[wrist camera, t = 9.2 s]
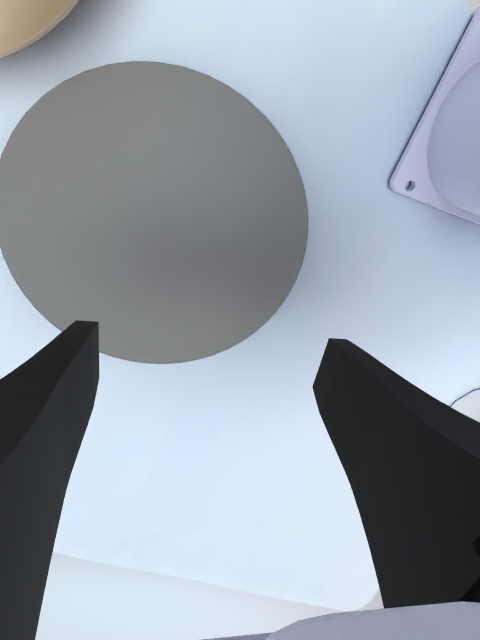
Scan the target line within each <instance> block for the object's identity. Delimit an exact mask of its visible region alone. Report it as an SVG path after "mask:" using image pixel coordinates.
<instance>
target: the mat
mask: <svg viewBox="0 0 480 640" xmlns="http://www.w3.org/2000/svg"><path fill="white" fill-rule="evenodd" d="M307 233H308V209H307V203H306V196H305V190H304V187H303V183H302V180H301V176H300V173H299V170H298V168H297V166H296V163H295V161H294V159H293V156H292V154H291V152H290V150H289V149H288V147H287V145H286V144H285V142H284V140H283V139H282V137H281V136H280V134H279V133H278V131H277V130H276V129H275V128H274V126H273V125H272V124H271V123H270V121H269V120H268V119H267V118H266V117H265V115H263V114H262V113H261V112H260V111H259V110H258V109H257V108H256V107H255V106H254V105H253V104H252V103H251V102H250V101H249V100H247V99H246V98H244V97H243V96H242V95H240V94H239V93H237V92H236V91H235V90H233V89H232V88H230V87H229V86H227V85H225V84H223V83H221V82H219V81H217V80H215V79H213V78H211V77H210V76H208V75H205V74H202V73H199V72H196V71H194V70H191V69H188V68H185V67H181V66H176V65H170V64H165V63H159V62H125V63H117V64H109V65H105V66H102V67H98V68H95V69H91V70H88V71H85V72H82V73H80V74H78V75H76V76H74V77H72V78H70V79H68V80H66V81H64V82H62V83H60V84H59V85H58V86H56V87H55V88H53V89H52V90H51V91H49V92H48V93H46V94H45V95H43V96H42V97H41V98H40V99H39V100H38V101H37V102H36V103H35V104H34V105H33V106H32V107H31V108H30V109H29V110H28V111H27V112H26V113H25V115H24V116H23V118H22V119H21V120H20V122H19V123H18V125H17V126H16V127H15V129H14V130H13V132H12V134H11V136H10V138H9V140H8V142H7V144H6V146H5V148H4V150H3V152H2V156H1V159H0V247H1V250H2V254H3V257H4V259H5V261H6V263H7V266H8V268H9V270H10V272H11V274H12V276H13V278H14V279H15V281H16V283H17V284H18V286H19V287H20V289H21V291H22V292H23V294H24V295H25V296H26V297H27V298H28V300H29V301H30V302H31V303H32V305H33V306H34V307H35V308H36V309H37V310H38V311H39V312H40V313H41V314H42V315H43V316H44V317H45V318H46V319H47V320H48V321H49V322H50V323H52V324H53V325H54V326H55V327H57V328H58V329H59V330H61V331H62V332H63V331H64V330H65V329H66V328H67V327H68V326H70V325H71V324H72V323H73V322H75V321H76V320H81V321H95V322H99V352H101V353H104V354H107V355H109V356H112V357H116V358H120V359H124V360H128V361H134V362H141V363H153V364H169V363H182V362H187V361H193V360H198V359H201V358H205V357H208V356H212V355H215V354H217V353H219V352H222V351H224V350H227V349H229V348H231V347H232V346H234V345H236V344H238V343H240V342H242V341H243V340H245V339H246V338H247V337H249V336H250V335H252V334H253V333H255V332H256V331H257V330H258V329H259V328H260V327H261V326H263V325H264V324H265V323H266V322H267V321H268V320H269V319H270V318H271V317H272V315H273V314H274V313H275V312H276V311H277V310H278V309H279V307H280V306H281V304H282V303H283V302H284V300H285V299H286V297H287V296H288V294H289V292H290V290H291V288H292V286H293V285H294V283H295V281H296V278H297V276H298V273H299V270H300V268H301V265H302V262H303V257H304V253H305V249H306V242H307Z"/></svg>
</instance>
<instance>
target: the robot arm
mask: <svg viewBox="0 0 480 640" xmlns="http://www.w3.org/2000/svg"><path fill="white" fill-rule="evenodd" d="M409 181H411V186H410V187H409V188H408V189H405V186H406V184H407V182H409ZM389 185H390V188H391V189H392V190H393V191H395V192H397V193H399V194H402V195H405V196H407V197H410V198H412V199H415V200H417V201H420V202H422V203H425V204H428V205H430V206H433V207H435V208H438V209H440V210H443V211H445V212H448V213H451V214H453V215H456V216H458V217H461V218H463V219H466V220H468V221H471V222H474V223H476V224H479V225H480V7H479V8H478V9H477V11H476V12H475V14H474V16H473V18H472V20H471V22H470V24H469V26H468V28H467V30H466V32H465V34H464V36H463V38H462V40H461V42H460V43H459V45H458V47H457V49H456V51H455V53H454V55H453V57H452V59H451V61H450V63H449V65H448V67H447V69H446V71H445V73H444V75H443V77H442V79H441V81H440V83H439V85H438V87H437V89H436V90H435V92H434V94H433V96H432V98H431V100H430V102H429V104H428V106H427V108H426V110H425V112H424V114H423V116H422V118H421V120H420V122H419V124H418V126H417V128H416V130H415V132H414V134H413V136H412V137H411V139H410V141H409V143H408V145H407V147H406V149H405V151H404V153H403V155H402V157H401V159H400V161H399V163H398V165H397V167H396V169H395V171H394V173H393V175H392V177H391V179H390V182H389ZM98 381H99V322H95V321H81V320H76V321H75V322H73V323H72V324H71V325H70V326H68V327H67V328H66V329H65V330H64V331H63V332H62V333H60V334H59V335H58V336H57V337H56V338H55V339H53V340H52V341H51V342H50V343H49V344H47V345H46V346H45V347H44V348H42V349H41V350H40V351H39V352H37V353H36V354H35V355H34V356H33V357H31V358H30V359H29V360H27V361H26V362H25V363H23V364H22V365H20V366H19V367H18V368H16V369H15V370H13V371H12V372H11V373H9V374H8V375H6V376H5V377H3V378H2V379H0V640H35V636H36V631H37V626H38V621H39V615H40V610H41V605H42V600H43V595H44V590H45V586H46V581H47V576H48V570H49V565H50V561H51V556H52V552H53V547H54V542H55V538H56V533H57V528H58V524H59V519H60V515H61V511H62V506H63V502H64V497H65V493H66V489H67V486H68V482H69V479H70V475H71V472H72V469H73V466H74V463H75V460H76V457H77V454H78V451H79V449H80V446H81V443H82V440H83V437H84V434H85V431H86V428H87V425H88V422H89V419H90V416H91V413H92V410H93V406H94V401H95V396H96V391H97V386H98ZM313 390H314V394H315V398H316V402H317V405H318V409H319V412H320V415H321V417H322V420H323V422H324V424H325V427H326V429H327V431H328V434H329V436H330V438H331V441H332V443H333V445H334V447H335V450H336V452H337V454H338V456H339V459H340V461H341V463H342V465H343V468H344V470H345V472H346V475H347V477H348V480H349V482H350V485H351V488H352V491H353V494H354V497H355V500H356V503H357V507H358V510H359V513H360V516H361V519H362V523H363V526H364V530H365V533H366V537H367V540H368V544H369V547H370V551H371V555H372V559H373V563H374V567H375V571H376V575H377V579H378V583H379V587H380V592H381V596H382V600H383V606H384V609H376V610H365V611H354V612H343V613H333V614H327V615H322V616H318V617H313V618H308V619H304V620H299V621H297V622H295V623H293V624H291V625H288V626H287V627H284V628H282V629H280V630H278V631H276V632H274V633H264V634H253V635H244V636H234V637H224V638H214V639H204V640H480V422H478V421H476V420H474V419H472V418H470V417H468V416H466V415H464V414H462V413H460V412H458V411H457V410H455V409H453V408H451V407H449V406H448V405H446V404H444V403H442V402H440V401H439V400H437V399H435V398H434V397H432V396H430V395H429V394H427V393H425V392H424V391H422V390H421V389H419V388H418V387H416V386H414V385H413V384H411V383H410V382H408V381H407V380H405V379H404V378H402V377H401V376H399V375H398V374H397V373H395V372H394V371H392V370H391V369H389V368H388V367H387V366H385V365H384V364H382V363H381V362H380V361H378V360H377V359H375V358H374V357H373V356H371V355H370V354H368V353H367V352H365V351H364V350H362V349H361V348H360V347H358V346H356V345H355V344H353V343H352V342H350V341H348V340H346V339H333V338H329V340H328V343H327V346H326V349H325V352H324V355H323V358H322V361H321V364H320V366H319V369H318V372H317V375H316V378H315V381H314V384H313Z"/></svg>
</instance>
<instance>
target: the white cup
mask: <svg viewBox="0 0 480 640" xmlns="http://www.w3.org/2000/svg"><path fill="white" fill-rule="evenodd" d="M451 408H453V409H455V410H457V411H458V412H460V413H462V414H464V415H466V416H468V417H470V418H472V419H474V420H476V421H478V422H480V389H478V390H475V391H473V392H471V393H469V394H467V395H466V396H464V397H462V398H461V399H459V400H457V401H456V402H455V403H454V404H453V405H452V406H451Z"/></svg>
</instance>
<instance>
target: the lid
mask: <svg viewBox="0 0 480 640" xmlns="http://www.w3.org/2000/svg"><path fill="white" fill-rule="evenodd" d="M78 1H79V0H0V58H3V57H5V56H8V55H10V54H13V53H15V52H18V51H20V50H23V49H24V48H26V47H27V46H29V45H31V44H32V43H34V42H35V41H37V40H39V39H40V38H42V37H44V36H45V35H46V34H47V33H49V32H50V31H51V30H52V29H53V28H54V27H55V26H56V25H57V24H59V23H60V22H61V21H62V20H63V19H64V18H65V17H66V16H67V15H68V14H69V13H70V11H71V10H72V9H73V8H74V6H75V5H76V4H77V3H78Z"/></svg>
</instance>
